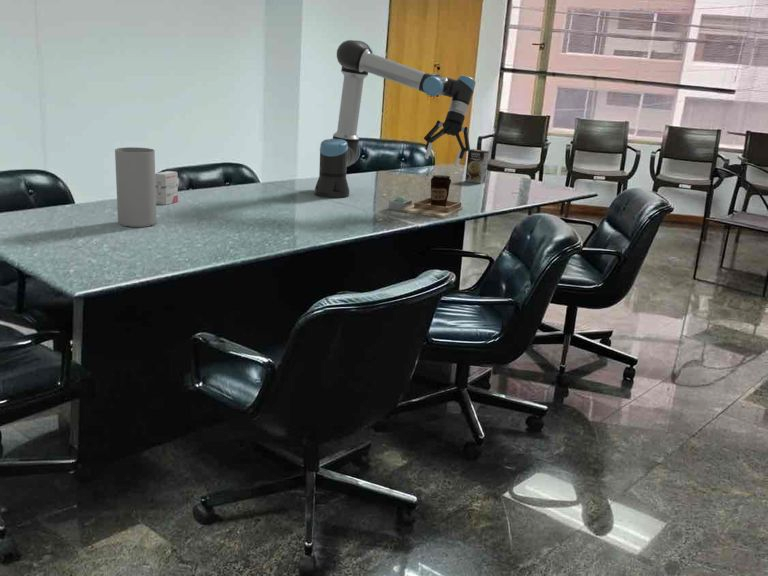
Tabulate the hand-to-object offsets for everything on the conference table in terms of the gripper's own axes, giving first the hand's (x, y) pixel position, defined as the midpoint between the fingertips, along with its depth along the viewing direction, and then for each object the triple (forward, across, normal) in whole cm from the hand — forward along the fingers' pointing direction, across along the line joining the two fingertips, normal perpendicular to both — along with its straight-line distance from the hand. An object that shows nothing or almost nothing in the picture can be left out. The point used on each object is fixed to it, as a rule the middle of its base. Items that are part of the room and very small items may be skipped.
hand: (441, 162), depth 320 cm
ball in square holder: (+24, -7, -10) cm, 27 cm away
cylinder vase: (+62, -66, -88) cm, 126 cm away
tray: (+21, +5, -5) cm, 22 cm away
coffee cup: (+19, +6, -2) cm, 20 cm away
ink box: (+52, -82, -56) cm, 112 cm away
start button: (+23, -7, -10) cm, 27 cm away
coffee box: (-8, -6, +75) cm, 76 cm away
